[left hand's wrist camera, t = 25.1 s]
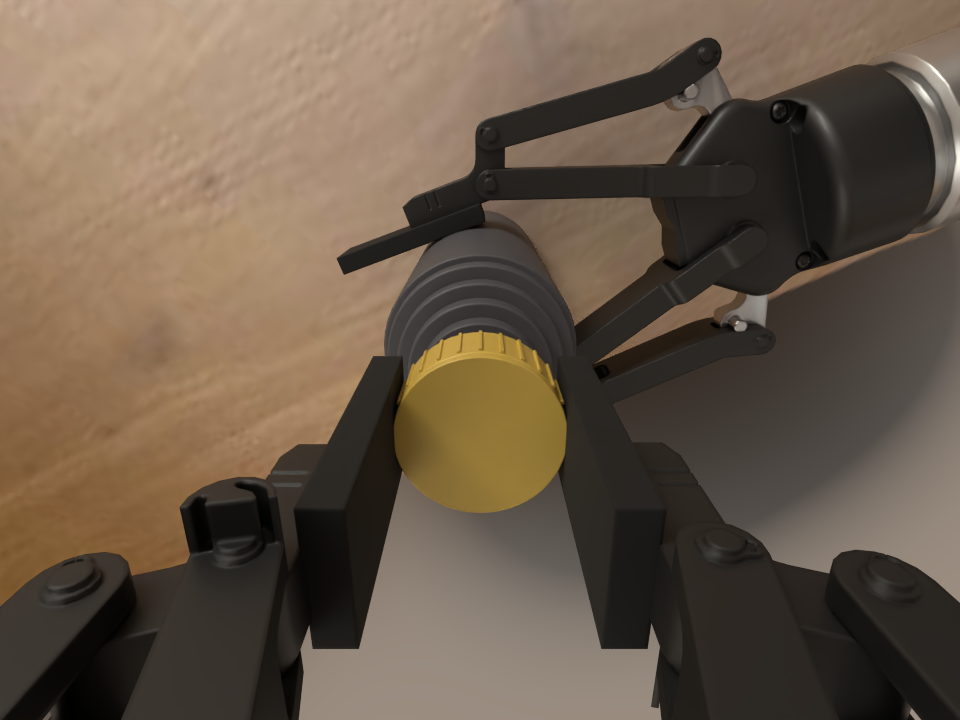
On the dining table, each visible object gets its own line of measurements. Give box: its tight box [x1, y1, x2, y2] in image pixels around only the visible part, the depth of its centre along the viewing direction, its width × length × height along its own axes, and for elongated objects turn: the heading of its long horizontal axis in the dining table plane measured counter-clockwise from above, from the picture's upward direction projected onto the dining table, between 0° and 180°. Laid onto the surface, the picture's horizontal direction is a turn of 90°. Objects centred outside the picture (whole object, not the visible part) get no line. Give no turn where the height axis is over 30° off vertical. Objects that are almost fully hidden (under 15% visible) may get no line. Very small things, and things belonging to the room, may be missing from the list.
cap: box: [394, 331, 567, 513], centre depth 14 cm, size 4×4×2 cm
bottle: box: [384, 211, 577, 380], centre depth 23 cm, size 6×6×19 cm
